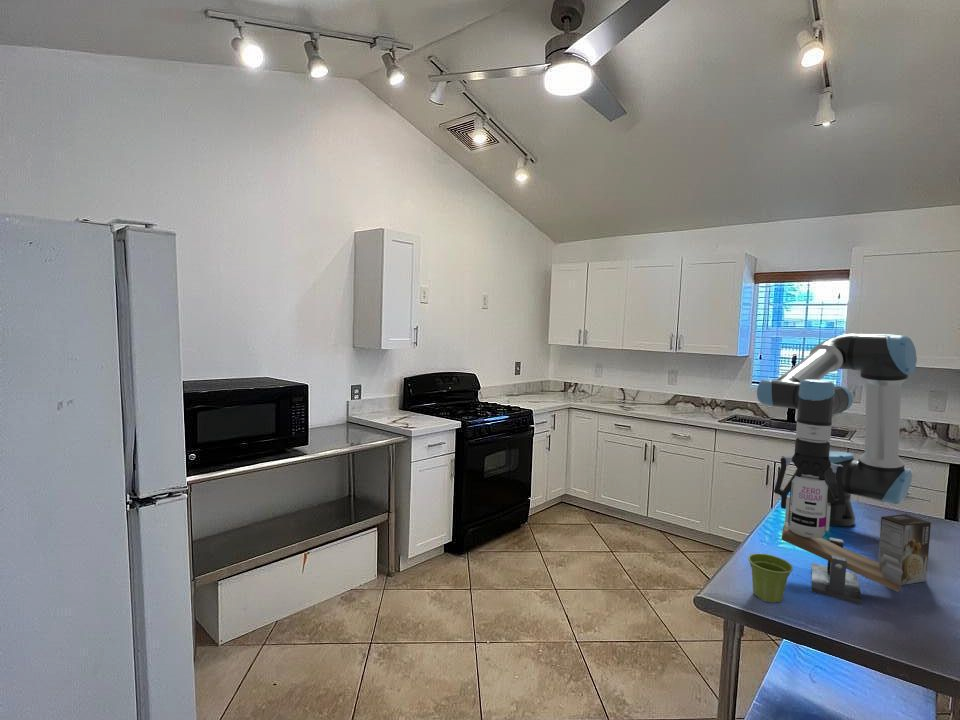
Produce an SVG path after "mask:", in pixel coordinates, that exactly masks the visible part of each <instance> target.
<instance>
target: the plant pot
mask: <svg viewBox="0 0 960 720" xmlns="http://www.w3.org/2000/svg"><path fill="white" fill-rule="evenodd" d="M747 558H748V562H749V564H750V565H749V566H750V567H751V577H752V590H753V591H752V593H753V595H754V596H757V598H758V599H759V600H762V601H764V602H767V603H770V602H771V604H775V603H781V602H782V600H783V597H784V593H785V589H786V585H787V581H788V577H790V574H791V573H792V571H793V570H794V567H793V566H792V563H790V562H788V561H787V560H785V559H783V558H781V557H778V556H775V555H772V554H767V553H752V554H750V555H749V556H747Z"/></svg>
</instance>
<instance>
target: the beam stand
mask: <svg viewBox="0 0 960 720" xmlns="http://www.w3.org/2000/svg"><path fill="white" fill-rule="evenodd" d="M828 541H829V542H832V543H834V544H836V545H839V546H841V547H843V548H844V540H843V539H841V538H840V539H839V538H835V537H829V538H828ZM846 563H847V561H846V558H842V557H838V556H833V555H831V562H830V561H828V560H827V565H822V564H819V563H814V562H811V565H810V566H811V567H810V568H811V572H812V574H811V593H813V594H818V595H821V596H826V597H830V598H833V599H837V600H840V601H841V600H842V601H845V602H849V603H853V604H857V605H860V606H862V605H863V598H862V593H861V588H860V583H859V577H858V574H857V573H855V572H853V571H850V570H847V569H846ZM811 572H810V573H811Z"/></svg>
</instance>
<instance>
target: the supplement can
mask: <svg viewBox="0 0 960 720" xmlns="http://www.w3.org/2000/svg"><path fill="white" fill-rule="evenodd" d="M827 493H828V486H827V484H826V482H825V480H820V479H819V476H817V477H816V476H812V475H803V474H802V475H801V476H800V477H798V476H796V475H795V477H794V479H793V480H792V486H791V491H790V492H789V496H790V504H789V518H788V528H789V529H790V530H791V531H792V532H793V533H795V534H797V535H800V536H803V537H808V538H823V536H825V535H826V530H825V525H826V511H827V499H828V497H827Z"/></svg>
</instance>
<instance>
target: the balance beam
mask: <svg viewBox="0 0 960 720" xmlns="http://www.w3.org/2000/svg"><path fill="white" fill-rule="evenodd" d="M781 541H783V542H786V543H789V544H790V545H793V546H795V547H797V548H800V549H802V550H804V551H806V552H808V553H810V554H812V555H815V556H817V557H819V558H821V559H824V560H826V561H827V562H828V561H830V562H831V555H833V556H838V557H842V558H846V561H847V563H846V570H847V571H849V572H854V573H857V575H860V576H862V577H864V578H866V579H869V580H871V581H873V582H875V583H878V584H880V585H882V586H884V587H886V588H888V589H890V590H893V591H895V592H898V593H899V592H900V589H901V587H902V585H900V582H899V580H900V578H901V576H902V574H903V571H902V569H901V566H900V564H899V561H898V560H897V559H895V558H892V557H890V556H888V555H885V554H883V556H882V558H881V560H880V563H878V561H875V560H873V559H871V558H868V557H866V556H865V555H864V556H863V555H861V554H859V553H857V552H855V551H853V550H850V549H848V548H845V547H844V546H843V547H841V546H839V545H836V544H834V543H832V542H829V540H827V539H825V538H823V537H820V538H808V537H803V536H800V535H797V534H795V533H793V532H792V531H791V530H790V529H789V528H788V523H786V522H784V524H783V526H782V531H781Z"/></svg>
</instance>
